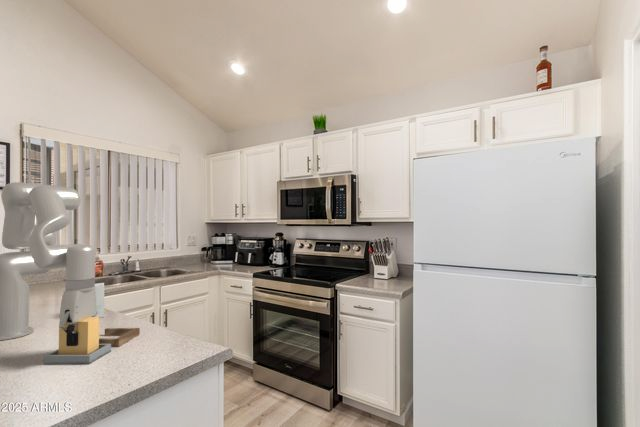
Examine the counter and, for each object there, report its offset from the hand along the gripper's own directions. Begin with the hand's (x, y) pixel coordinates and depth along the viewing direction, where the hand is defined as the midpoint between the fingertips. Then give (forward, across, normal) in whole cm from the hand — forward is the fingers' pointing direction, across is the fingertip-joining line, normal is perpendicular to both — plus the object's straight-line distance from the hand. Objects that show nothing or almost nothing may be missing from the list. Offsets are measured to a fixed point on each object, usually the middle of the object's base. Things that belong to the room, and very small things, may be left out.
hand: (79, 341), depth 101 cm
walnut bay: (+5, -15, 0) cm, 16 cm away
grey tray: (+5, 0, 0) cm, 5 cm away
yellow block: (+3, 0, 0) cm, 3 cm away
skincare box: (+5, -46, -27) cm, 54 cm away
